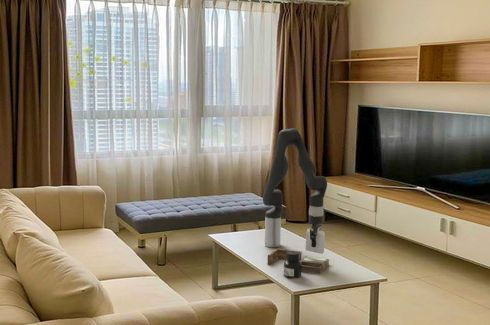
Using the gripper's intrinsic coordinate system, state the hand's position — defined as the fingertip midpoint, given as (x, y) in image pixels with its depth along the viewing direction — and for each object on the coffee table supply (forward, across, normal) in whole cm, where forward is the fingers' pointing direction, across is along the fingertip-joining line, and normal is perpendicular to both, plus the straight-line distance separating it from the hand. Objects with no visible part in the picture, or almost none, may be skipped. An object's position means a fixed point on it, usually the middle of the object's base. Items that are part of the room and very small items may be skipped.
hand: (315, 245), depth 313 cm
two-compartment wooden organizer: (+11, +4, 0) cm, 11 cm away
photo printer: (+4, 0, 0) cm, 4 cm away
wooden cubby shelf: (+11, +2, -16) cm, 19 cm away
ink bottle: (+11, +21, -5) cm, 24 cm away
